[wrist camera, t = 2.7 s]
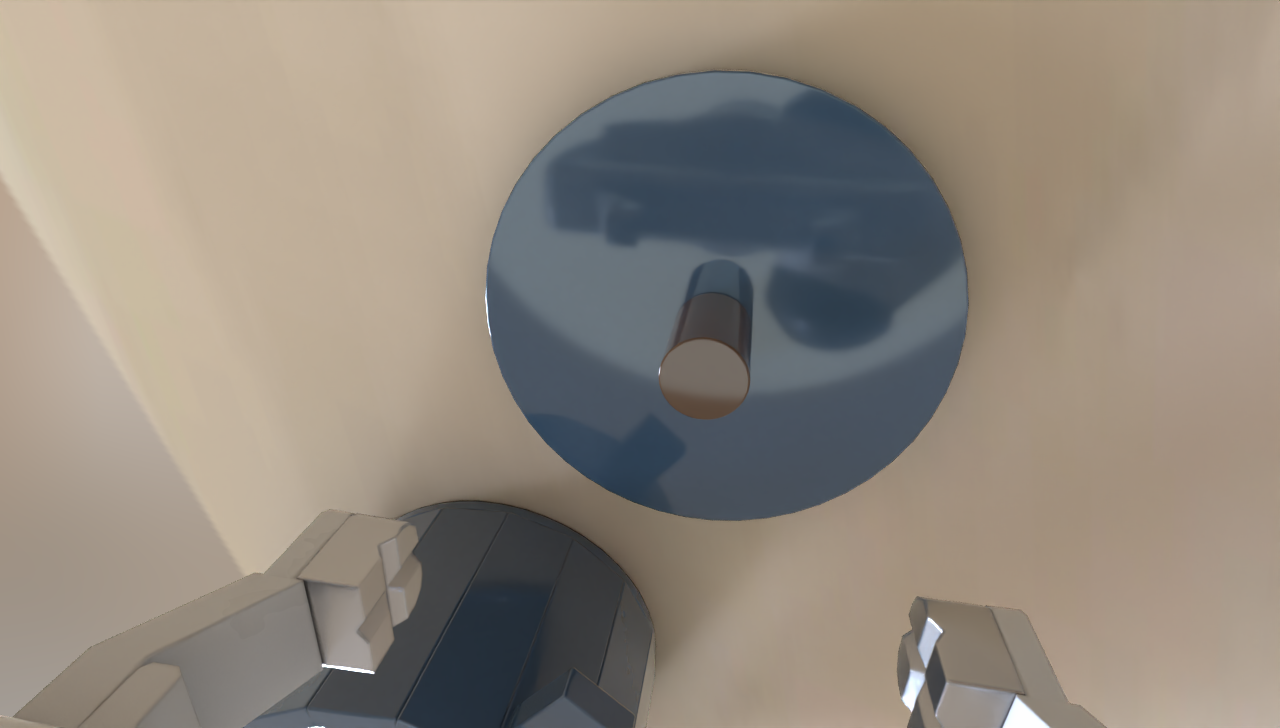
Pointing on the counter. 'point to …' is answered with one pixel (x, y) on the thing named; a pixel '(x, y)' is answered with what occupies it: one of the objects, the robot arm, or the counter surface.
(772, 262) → the lid
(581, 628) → the pot
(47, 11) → the counter surface
